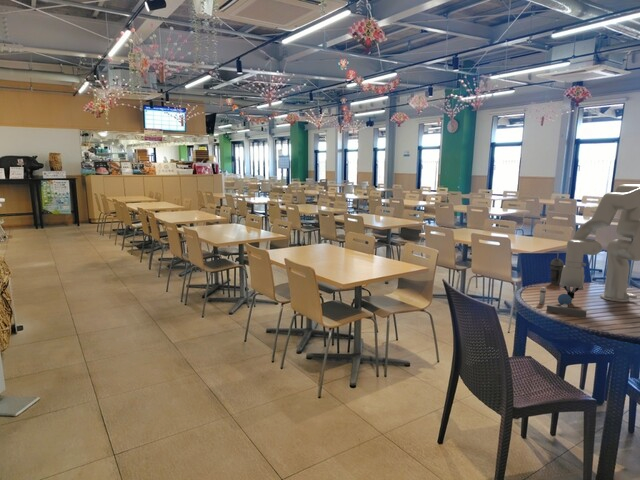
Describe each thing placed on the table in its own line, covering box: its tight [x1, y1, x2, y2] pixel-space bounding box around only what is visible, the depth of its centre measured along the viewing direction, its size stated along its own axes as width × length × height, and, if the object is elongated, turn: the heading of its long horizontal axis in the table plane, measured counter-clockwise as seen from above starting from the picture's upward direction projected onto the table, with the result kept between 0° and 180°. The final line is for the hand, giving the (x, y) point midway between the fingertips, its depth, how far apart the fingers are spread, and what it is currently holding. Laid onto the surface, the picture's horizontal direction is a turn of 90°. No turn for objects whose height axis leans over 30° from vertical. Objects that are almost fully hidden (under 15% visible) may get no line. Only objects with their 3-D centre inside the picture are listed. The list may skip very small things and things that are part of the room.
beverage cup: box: [549, 250, 565, 286], centre depth 255 cm, size 7×7×20 cm
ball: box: [557, 293, 573, 306], centre depth 214 cm, size 6×6×6 cm
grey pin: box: [538, 286, 547, 306], centre depth 216 cm, size 2×2×8 cm
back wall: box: [546, 304, 588, 319], centre depth 201 cm, size 16×2×3 cm, turn 53°
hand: (570, 299), depth 220 cm, fingers closed
